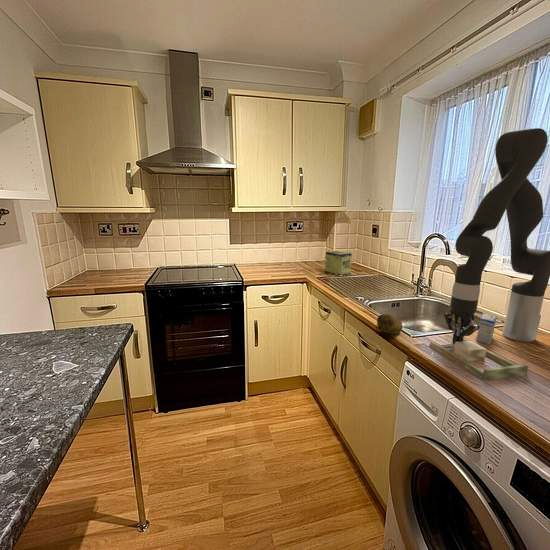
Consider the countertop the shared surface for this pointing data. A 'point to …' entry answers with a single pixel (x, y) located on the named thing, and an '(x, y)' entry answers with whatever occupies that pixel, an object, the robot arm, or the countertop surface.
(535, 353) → the countertop surface
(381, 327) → the potato
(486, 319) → the medicine box
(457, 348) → the cream block
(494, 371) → the shallow green tray
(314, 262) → the countertop surface
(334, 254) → the protein box
